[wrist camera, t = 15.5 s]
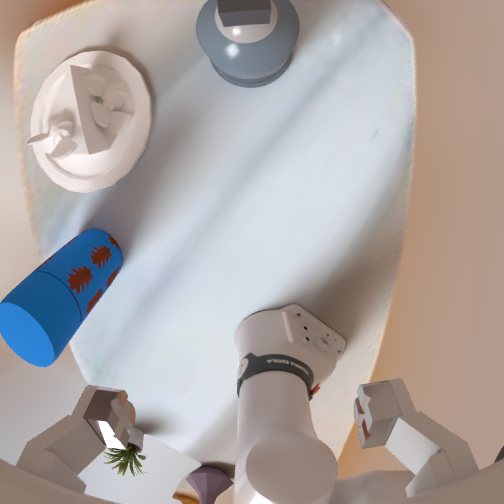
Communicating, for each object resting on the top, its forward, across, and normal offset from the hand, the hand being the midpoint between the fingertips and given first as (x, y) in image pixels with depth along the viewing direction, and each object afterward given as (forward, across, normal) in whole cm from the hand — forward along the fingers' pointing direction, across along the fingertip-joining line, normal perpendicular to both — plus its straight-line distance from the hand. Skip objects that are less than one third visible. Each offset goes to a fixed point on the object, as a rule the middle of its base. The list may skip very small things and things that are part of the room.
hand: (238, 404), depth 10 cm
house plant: (+41, +40, +68) cm, 89 cm away
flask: (+41, +22, +94) cm, 105 cm away
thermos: (+41, +30, +12) cm, 52 cm away
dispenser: (+41, -1, -20) cm, 46 cm away
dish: (+42, +27, -13) cm, 51 cm away
